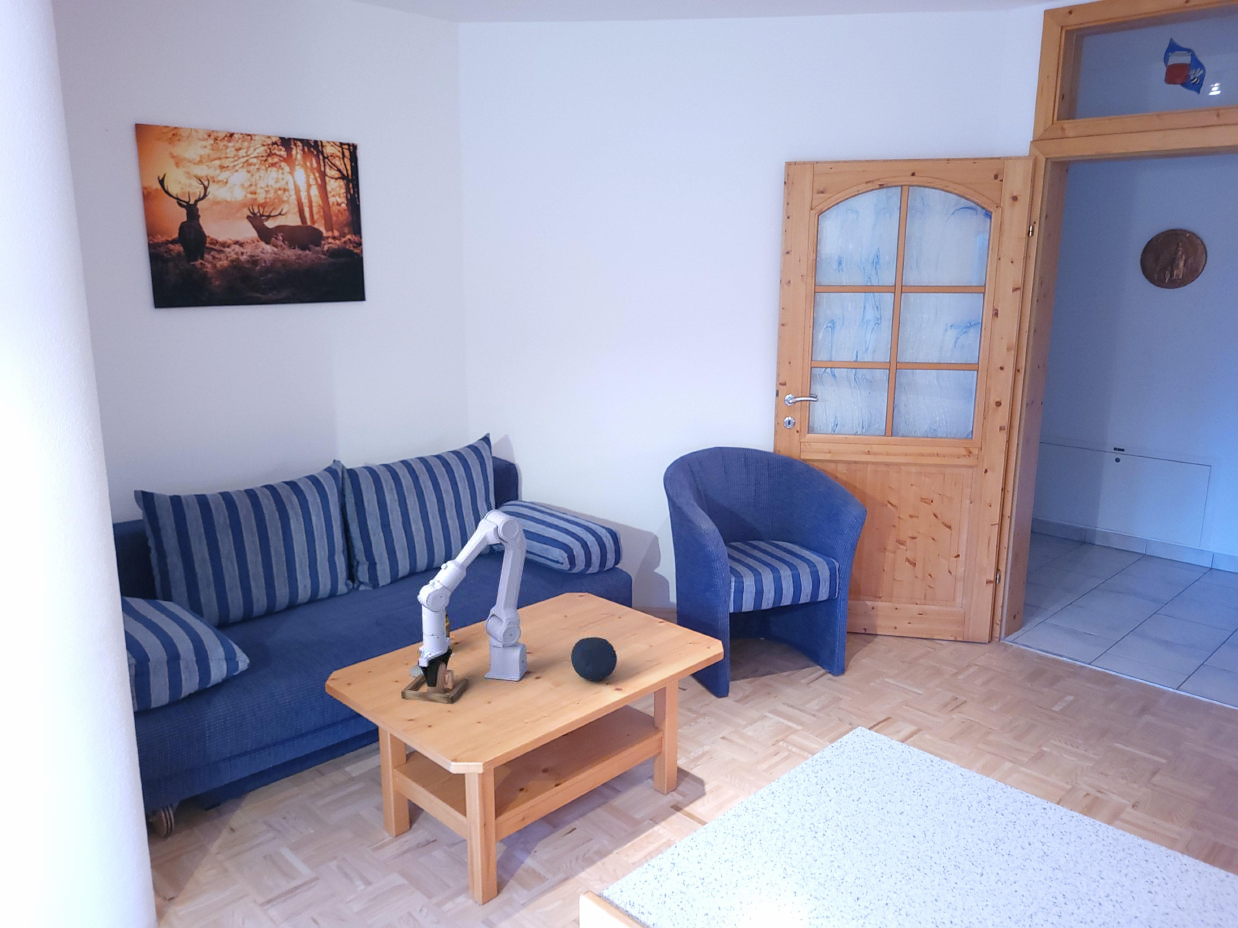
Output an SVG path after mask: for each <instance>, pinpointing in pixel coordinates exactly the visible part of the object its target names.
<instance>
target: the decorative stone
mask: <svg viewBox="0 0 1238 928" xmlns="http://www.w3.org/2000/svg"><path fill="white" fill-rule="evenodd" d="M570 658H571V659H570V661H571V665H572V667H573V670H574V671H575V672H576V673H577V675H578V676H579V677H581V678H582V679H583V680H586V681H591V682H598V681H601V680H604V679H605V678H606V677H609V676H611V674H613V673H614V671H615V669H616V666H617V663H618V656H617V652H616V650H615V648H614V646H613V644H612V643H610V641H608V640H607V639H605V638H602V637H596V636H591V637H584V638H581V639H579V640H577V641H576V642H575V644H574V646H573V647H572V650H571V657H570Z"/></svg>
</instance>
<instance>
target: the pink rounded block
mask: <svg viewBox="0 0 1238 928" xmlns="http://www.w3.org/2000/svg"><path fill="white" fill-rule="evenodd" d="M435 662H440V661H435ZM446 675H447V677H446ZM454 679H455V677H454V669H447V670H445V663H444V662H441V664H440V666H439V670H438V675H437V684H436V687H428V686H427V685H426V692H429V693H438V694H445V692H447V689H450V690H451V689H454V688H455V687H454V686H455V680H454Z"/></svg>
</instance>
